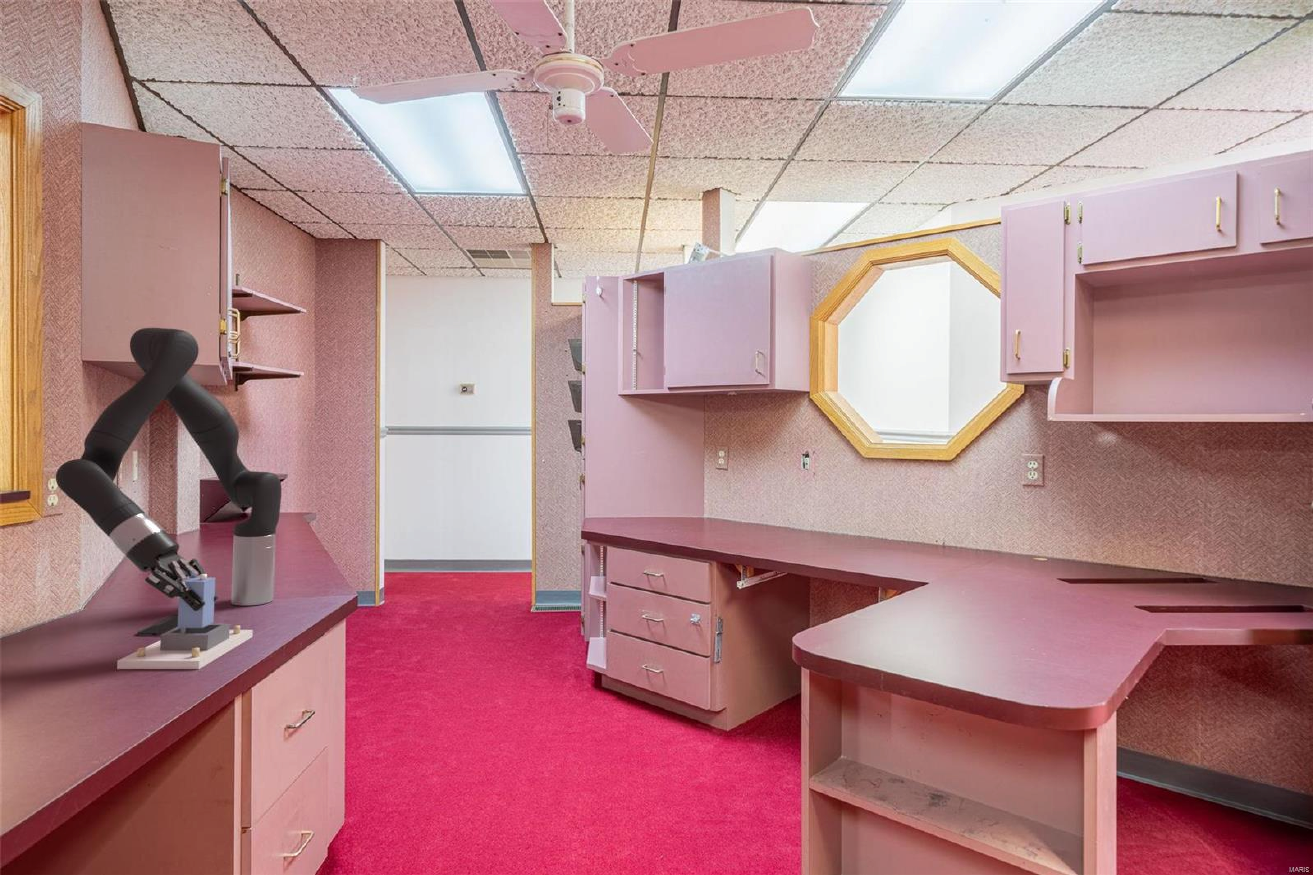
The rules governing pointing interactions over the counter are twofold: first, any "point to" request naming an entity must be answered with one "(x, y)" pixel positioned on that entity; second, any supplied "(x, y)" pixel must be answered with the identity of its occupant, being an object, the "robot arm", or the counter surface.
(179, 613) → the block
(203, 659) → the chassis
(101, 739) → the counter surface
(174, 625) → the phone
